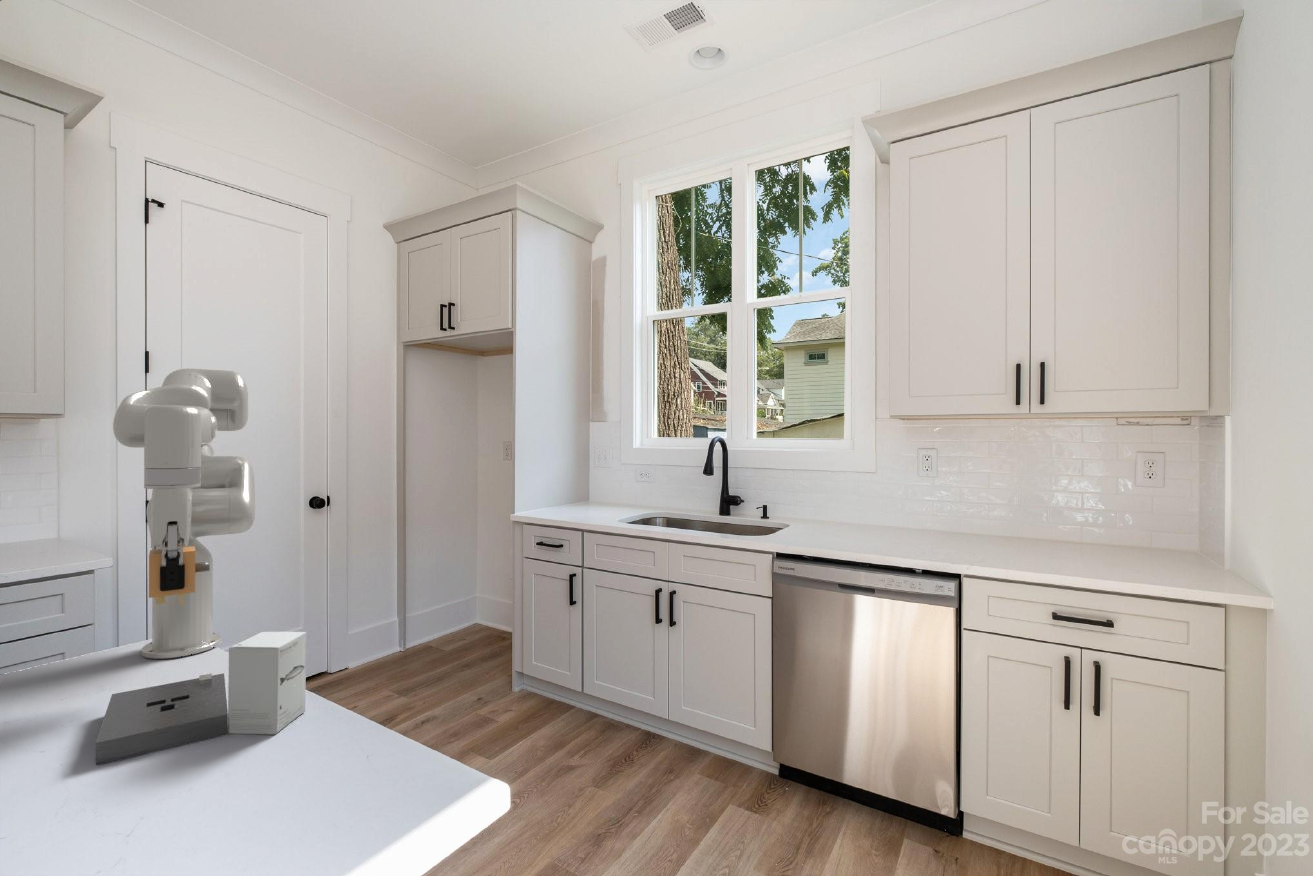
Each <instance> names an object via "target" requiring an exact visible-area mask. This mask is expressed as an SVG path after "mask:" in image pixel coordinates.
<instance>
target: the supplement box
mask: <svg viewBox="0 0 1313 876" xmlns="http://www.w3.org/2000/svg"><path fill="white" fill-rule="evenodd" d="M306 664H307V632H306V631H261V632H258V633H256V634H255V635H253V636H250V637H249V638H247V639H244V640H242V641H240V642H238V643H236V644H233V645H232V646H230V647H229V648H228V685H227V687H228V688H227V689H228V690H227V692H228V693H227V694H228V697H227V698H228V699H227V700H228V701H227V711H228V734H238V735H239V734H243V735H245V734H246V735H248V734H249V735H277V734H278V733H279V732H280V731H281V730H282V729H284V728H285V727H287V726H288V725H289V724H290V723H291V722H293V721H294V720H296V719H297V718H298V717H299V716H301V715H302V714H304V713H305V712H306V691H305V690H307V689H306V685H307V683H306V682H307V681H306V679H307V678H306V676H307V675H306V674H307V665H306ZM294 685H295V686H294Z"/></svg>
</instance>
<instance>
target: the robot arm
mask: <svg viewBox="0 0 1313 876" xmlns="http://www.w3.org/2000/svg"><path fill="white" fill-rule="evenodd" d="M248 418H249V391H248V386H247V383H246V381H245V379H244V378H243V376H242V375H241V374H239V372H238V373H237V372H236V371H233V370H224V369H222V370H221V369H205V368H203V369H202V368H180V369H176V370H173V371H171V372H170V373H169V374H168V375H166V377H165V378H164V380H163V383H162V385H161V386H159V387H154V388H151V389H146V390H141V391H136V392H134V393H130V394H128V395H127V396H126V397H124V398H123V399H122V400H121V402H120V404H119V406H118V407H117V409H116V411H115V414H114V417H113V423H112V430H113V434H114V437H115V439H116V441H118V443H119V444H120V445H123V446H125V447H128V448H134V449H135V448H139V449H140V448H143V468H144V469H143V471H144V472H143V476H144V477H143V489H147V490H148V489H149V490H151V498H150V499H149V500H148V502H147V506H146V520H147V525H148V530H149V537H150V548H151V550H158V549H162V567H160V591H170V590H178V589H183V588H184V587H185V564H183V547H193V546H195V563H201V562H210V571H204V572H195V592H194V593H186V594H184V604H179V594H177V595H169V596H165V604H160V605H156V597H153V598H151V601H152V602H151V603H152V604H151V606H152V607H151V610H152V612H151V641H150V642H148V643H147V644H145V645H144V646H142V648H141V655H142V657H144V658H147V659H157V660H158V659H160V660H161V659H175V658H181V656H182V657H186V656H191V654H192V655H196V654H199V653H203V652H206V651H209V650H212V649H214V648H216V647H218V646H219V645H221V643H222V641H223V636H222V635H221V634H220V633H219V632H218V633H217V632H214V631H213V630H214V629H213V621H214V620H213V610H214V609H213V607H214V606H213V604H214V603H213V602H214V600H213V598H214V597H213V596H214V588H213V587H214V585H213V584H214V581H213V580H214V579H213V578H214V563H213V562H214V559H213V556H212V553H211V552H210V550H209V548H207V547H206V546H205V545H204V544H202V542H200V541H199V540H198V539H197V538H200V537H201V538H202V537H207V536H208V537H209V536H222V535H223V536H224V535H234V534H235V535H236V534H241V533H245V532H247V531H248V530H250V529H251V528H252V526H253V524H254V521H255V518H256V494H255V493H256V489H255V475H254V469H253V466H252V464H251V462H250V461H249V460H248V459H246V458H244V457H242V456H233V455H229V456H228V455H226V456H225V455H223V456H221V455H219V456H218V455H216V456H215V455H214V454H215V453H214V449H213V447H212V446H211V443H212V441H213V440H214V439H215V438H216V436H217V434H218V432H235V431H237V432H238V431H240V430H241V429H242V430H243V428H245V427H246V425H247V424H248V423H247V422H248ZM177 550H179V551H177ZM166 551H168V552H166ZM202 641H203V642H206V643H208V644H210V645H212V646H214V648H213V647H211V646H209V645H207V644H206V643H203V642H202Z"/></svg>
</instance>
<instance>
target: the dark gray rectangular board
mask: <svg viewBox="0 0 1313 876" xmlns="http://www.w3.org/2000/svg"><path fill="white" fill-rule="evenodd" d="M198 676H199V677H197V678H192V679H187V680H181V681H176V682H171V683H170V682H169V683H165V684H160V685H159V684H158V685H154V686H148V687H143V688H138V689H133V690H128V691H123V692H116V693H112V694H111V696H110V699H109V702H108V705H107V708H106V712H105V714H104V718H103V721H102V723H101V726H100V729H99V731H98V732H99V733H98V734H97V737H96V741H95V767H97V766H100V765H106V764H109V763H114V762H119V761H122V760H126V759H127V760H128V759H130V758H135V757H139V756H143V755H148V754H152V753H156V752H160V751H164V750H169V749H172V748H173V749H174V748H177V747H181V746H186V745H191V744H195V743H198V742H202V741H203V742H204V741H207V740H211V739H216V738H219V737H223V736H228V734H229V733H228V701H227V700H228V699H227V690H226V679H225V678H226V677H225V673H218V674H213V675H212V673H207V674H202V675H198Z"/></svg>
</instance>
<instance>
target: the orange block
mask: <svg viewBox="0 0 1313 876" xmlns="http://www.w3.org/2000/svg"><path fill="white" fill-rule="evenodd" d="M177 551H179V550H177ZM166 552H168V551H166ZM183 564H185V587H184V588H183V589H178V590H170V591H160V567H162V549H158V550H152V549H150V550H149V555H148V599H152V598H153V597H156V605H160V604H165V596H169V595H177V594H179V604H184V594H186V593H194V592H195V572H204V571H210V562H201V563H195V546H193V547H183Z"/></svg>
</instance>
